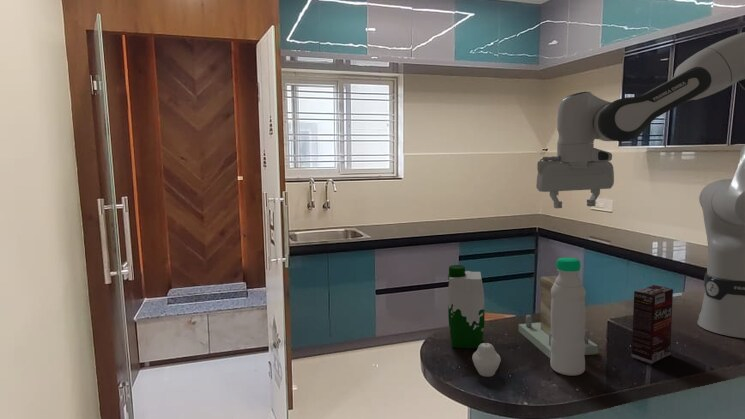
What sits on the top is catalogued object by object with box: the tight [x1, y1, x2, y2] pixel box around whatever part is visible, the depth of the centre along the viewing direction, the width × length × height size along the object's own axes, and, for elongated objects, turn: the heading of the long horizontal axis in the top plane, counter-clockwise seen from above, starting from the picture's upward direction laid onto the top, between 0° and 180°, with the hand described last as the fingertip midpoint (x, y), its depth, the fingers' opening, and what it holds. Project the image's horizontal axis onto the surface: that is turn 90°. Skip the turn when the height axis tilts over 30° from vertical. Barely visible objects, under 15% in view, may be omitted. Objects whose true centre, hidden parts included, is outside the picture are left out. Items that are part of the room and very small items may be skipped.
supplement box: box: [631, 284, 674, 365], centre depth 104 cm, size 9×5×16 cm, turn 122°
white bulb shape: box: [471, 342, 502, 378], centre depth 100 cm, size 6×6×7 cm
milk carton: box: [447, 264, 485, 350], centre depth 116 cm, size 9×9×20 cm
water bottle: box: [549, 257, 587, 377], centre depth 99 cm, size 7×7×25 cm
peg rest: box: [518, 314, 599, 359], centre depth 115 cm, size 12×17×5 cm
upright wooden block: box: [540, 275, 558, 335], centre depth 114 cm, size 4×8×14 cm, turn 6°
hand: (574, 207), depth 122 cm, fingers open, 8 cm apart
